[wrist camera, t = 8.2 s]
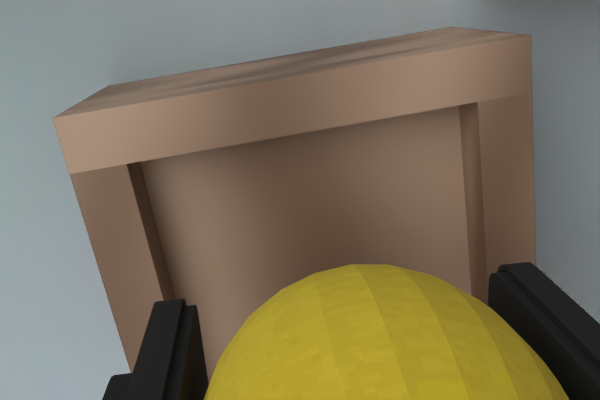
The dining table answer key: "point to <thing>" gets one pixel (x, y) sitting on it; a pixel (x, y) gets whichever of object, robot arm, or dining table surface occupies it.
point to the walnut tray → (306, 174)
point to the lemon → (378, 344)
